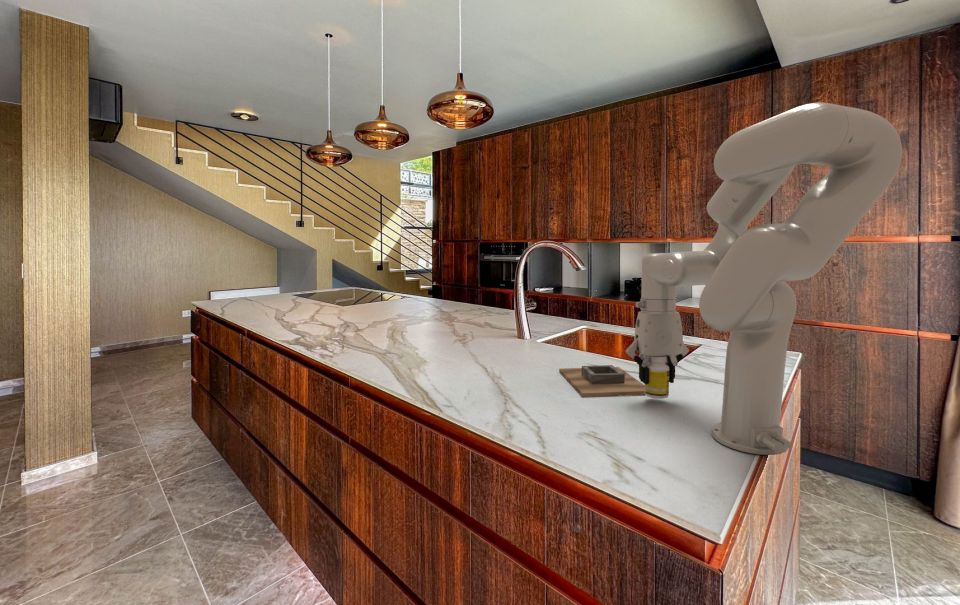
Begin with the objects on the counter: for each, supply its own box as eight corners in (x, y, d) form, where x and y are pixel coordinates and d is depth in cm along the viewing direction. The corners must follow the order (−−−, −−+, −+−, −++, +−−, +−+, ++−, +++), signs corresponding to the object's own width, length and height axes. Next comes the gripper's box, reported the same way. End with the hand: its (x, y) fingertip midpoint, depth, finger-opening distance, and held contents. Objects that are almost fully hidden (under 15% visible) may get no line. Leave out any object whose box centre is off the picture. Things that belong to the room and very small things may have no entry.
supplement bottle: (671, 399, 104) (671, 358, 103) (646, 398, 105) (646, 357, 104) (666, 392, 109) (667, 353, 108) (642, 392, 110) (643, 352, 109)
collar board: (652, 394, 112) (653, 381, 112) (582, 397, 111) (582, 383, 110) (618, 370, 134) (618, 358, 134) (559, 371, 133) (559, 360, 132)
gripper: (629, 309, 101) (628, 388, 102) (702, 306, 102) (700, 384, 104) (616, 305, 108) (615, 379, 110) (684, 303, 109) (682, 376, 111)
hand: (656, 381), depth 107 cm, fingers closed on supplement bottle, 5 cm apart
